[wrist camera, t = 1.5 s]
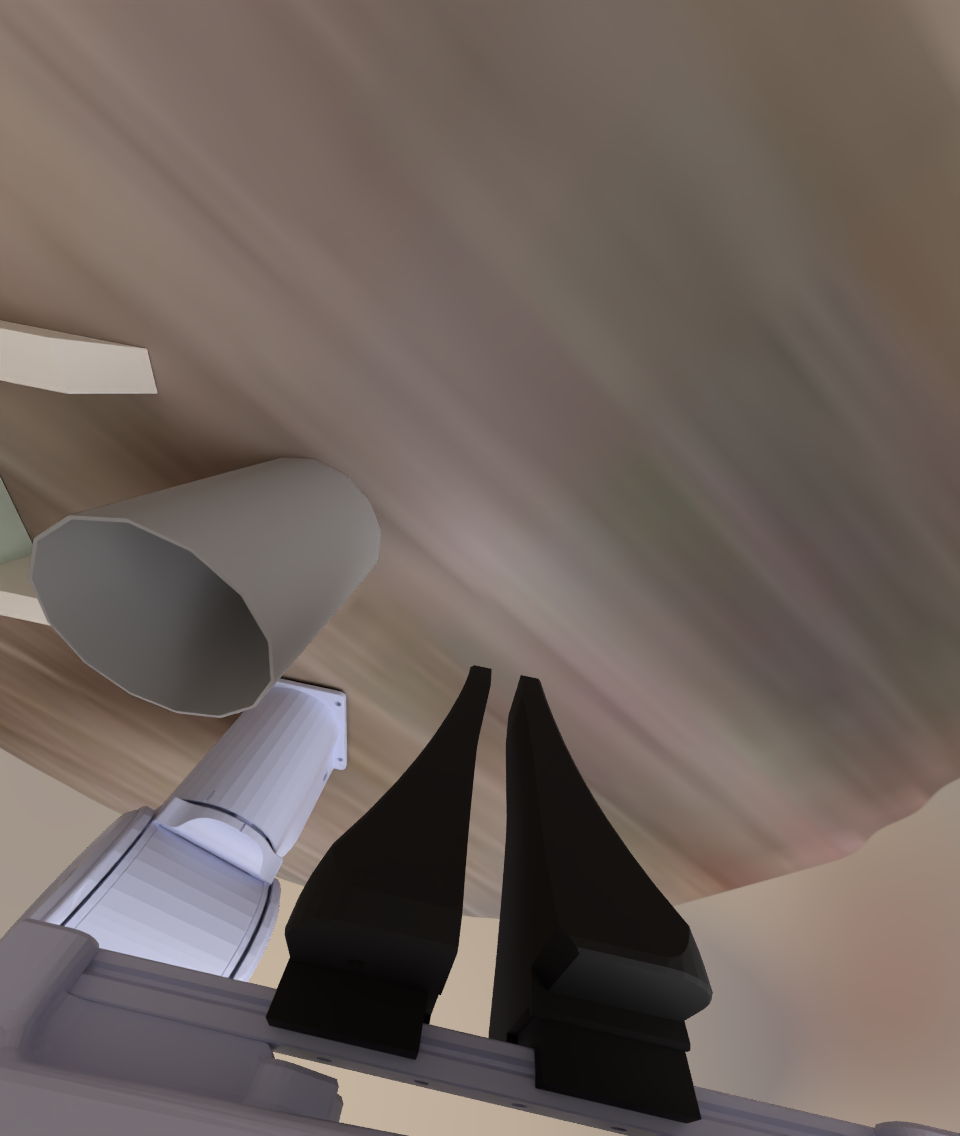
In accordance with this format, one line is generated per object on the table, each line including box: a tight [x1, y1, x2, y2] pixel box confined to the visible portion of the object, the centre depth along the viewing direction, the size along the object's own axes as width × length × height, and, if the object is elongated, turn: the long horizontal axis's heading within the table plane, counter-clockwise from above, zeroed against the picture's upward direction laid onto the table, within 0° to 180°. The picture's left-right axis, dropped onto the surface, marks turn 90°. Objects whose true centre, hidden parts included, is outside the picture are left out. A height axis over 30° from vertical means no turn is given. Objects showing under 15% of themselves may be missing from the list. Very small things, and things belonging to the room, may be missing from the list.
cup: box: [28, 458, 381, 718], centre depth 16 cm, size 8×8×10 cm
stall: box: [0, 320, 158, 626], centre depth 19 cm, size 16×14×4 cm
